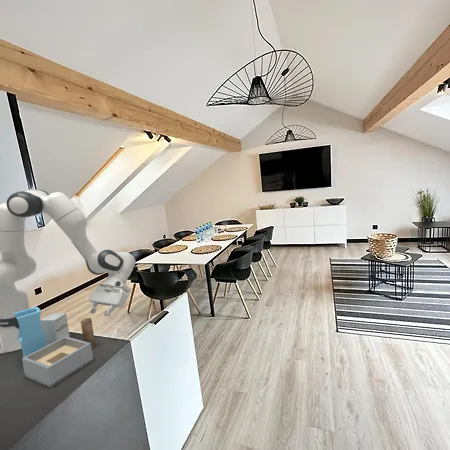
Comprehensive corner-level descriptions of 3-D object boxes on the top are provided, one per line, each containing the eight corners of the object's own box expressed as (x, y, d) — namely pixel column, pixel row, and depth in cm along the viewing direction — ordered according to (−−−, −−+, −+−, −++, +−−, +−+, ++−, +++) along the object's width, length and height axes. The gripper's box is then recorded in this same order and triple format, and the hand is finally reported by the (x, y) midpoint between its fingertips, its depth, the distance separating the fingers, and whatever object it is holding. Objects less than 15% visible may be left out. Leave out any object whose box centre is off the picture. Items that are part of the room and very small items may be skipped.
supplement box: (57, 348, 117) (53, 320, 116) (43, 348, 119) (38, 320, 117) (70, 339, 124) (66, 312, 123) (57, 338, 126) (52, 312, 124)
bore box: (25, 376, 99) (21, 358, 98) (67, 352, 113) (65, 336, 112) (51, 387, 92) (47, 368, 91) (93, 360, 106) (90, 343, 105)
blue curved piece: (22, 360, 110) (13, 313, 108) (45, 351, 115) (37, 306, 113) (25, 368, 104) (16, 318, 102) (49, 358, 110) (41, 310, 108)
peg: (82, 348, 115) (78, 321, 114) (91, 343, 118) (87, 317, 117) (89, 350, 113) (84, 323, 112) (97, 345, 117) (93, 318, 115)
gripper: (94, 280, 130) (78, 308, 123) (125, 283, 121) (110, 314, 113) (103, 286, 134) (88, 314, 127) (134, 289, 125) (120, 320, 117)
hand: (99, 314), depth 120 cm, fingers open, 8 cm apart
